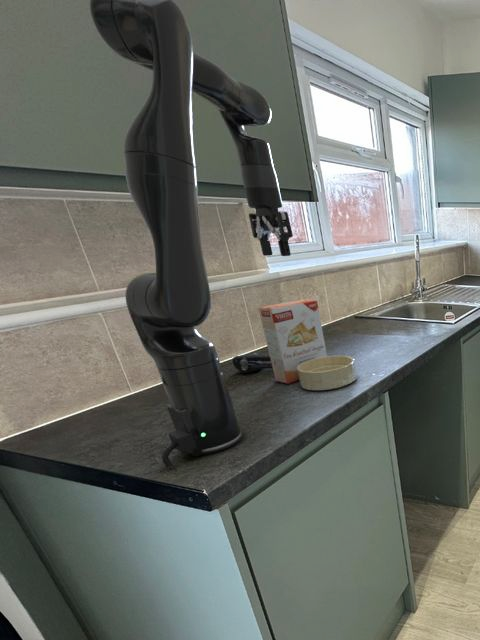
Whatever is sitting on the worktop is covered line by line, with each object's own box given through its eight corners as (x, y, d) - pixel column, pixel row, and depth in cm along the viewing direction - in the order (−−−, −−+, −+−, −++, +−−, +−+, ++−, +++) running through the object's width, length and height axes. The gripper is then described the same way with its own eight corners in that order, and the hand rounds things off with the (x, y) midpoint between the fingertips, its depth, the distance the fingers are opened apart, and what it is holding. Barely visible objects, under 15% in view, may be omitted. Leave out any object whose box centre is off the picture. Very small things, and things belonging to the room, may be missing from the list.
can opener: (231, 376, 121) (225, 358, 119) (241, 369, 127) (236, 351, 125) (295, 372, 123) (291, 354, 121) (302, 364, 129) (298, 347, 127)
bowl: (322, 396, 105) (318, 375, 103) (290, 386, 112) (286, 367, 110) (367, 378, 116) (364, 360, 114) (336, 370, 123) (332, 352, 121)
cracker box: (289, 385, 113) (270, 308, 105) (275, 381, 116) (256, 307, 108) (331, 369, 124) (317, 299, 117) (317, 366, 127) (303, 298, 119)
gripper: (292, 185, 101) (306, 255, 107) (261, 189, 108) (276, 254, 114) (261, 183, 95) (277, 257, 101) (231, 188, 102) (247, 256, 108)
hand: (276, 255), depth 108 cm, fingers open, 8 cm apart
